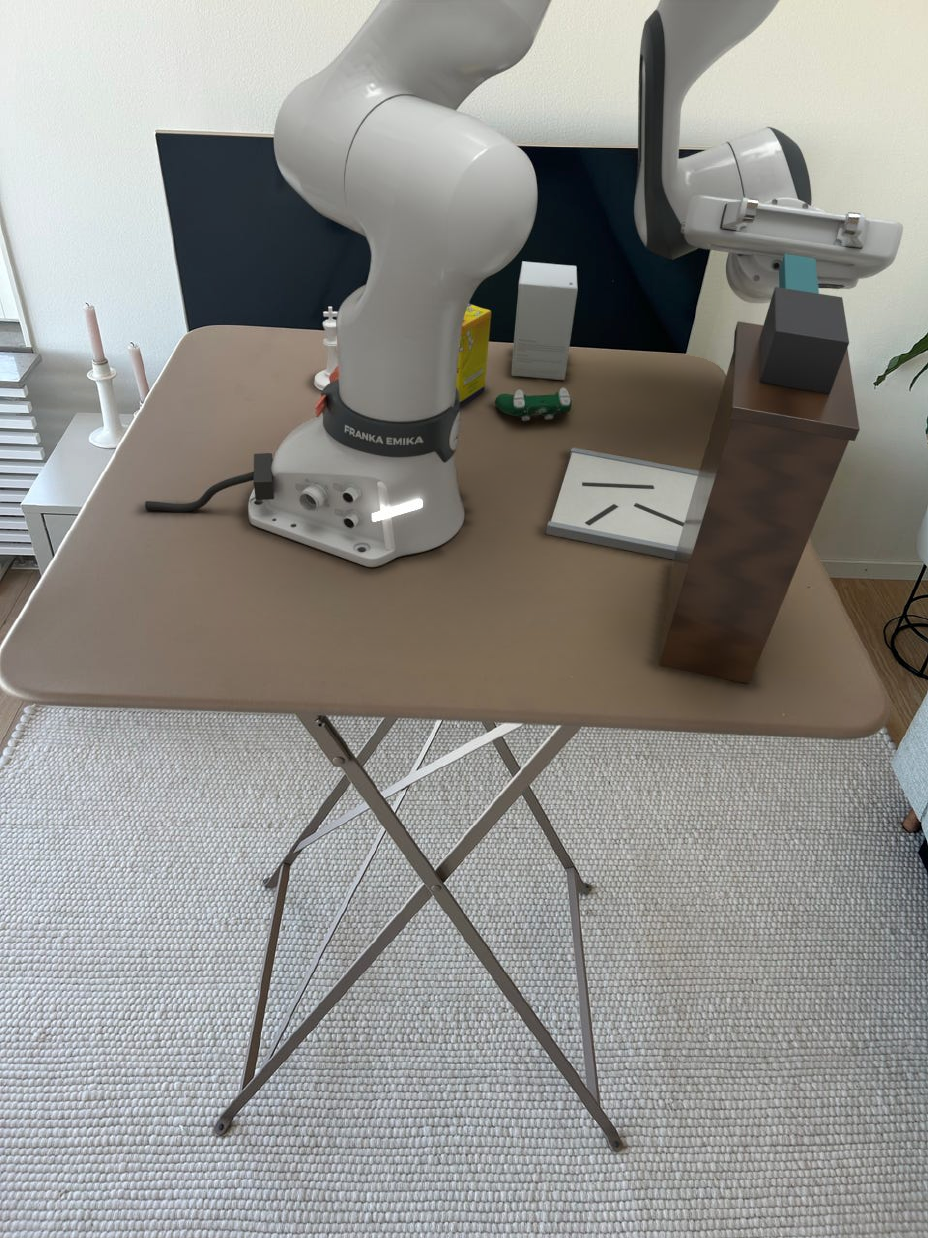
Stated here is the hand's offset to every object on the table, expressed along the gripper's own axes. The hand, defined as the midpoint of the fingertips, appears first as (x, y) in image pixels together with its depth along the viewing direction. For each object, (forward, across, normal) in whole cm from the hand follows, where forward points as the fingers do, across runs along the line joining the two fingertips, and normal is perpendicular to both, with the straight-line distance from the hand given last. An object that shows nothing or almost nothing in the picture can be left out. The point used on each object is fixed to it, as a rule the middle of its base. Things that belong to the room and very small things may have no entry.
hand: (801, 214), depth 80 cm
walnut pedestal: (+5, 0, +38) cm, 38 cm away
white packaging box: (-34, -25, +15) cm, 45 cm away
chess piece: (-22, -49, +22) cm, 58 cm away
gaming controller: (-22, -23, +22) cm, 39 cm away
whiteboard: (-9, -8, +29) cm, 32 cm away
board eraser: (+13, 0, +12) cm, 17 cm away
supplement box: (-24, -34, +21) cm, 47 cm away
